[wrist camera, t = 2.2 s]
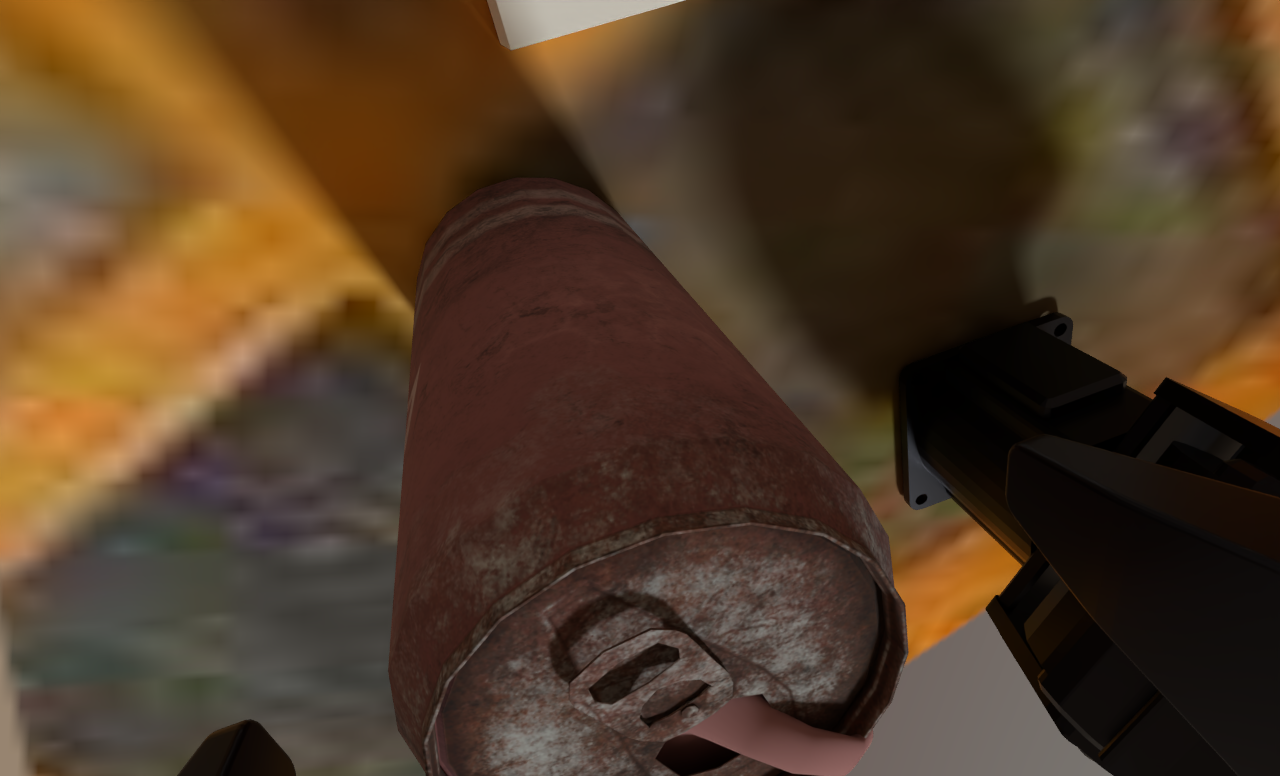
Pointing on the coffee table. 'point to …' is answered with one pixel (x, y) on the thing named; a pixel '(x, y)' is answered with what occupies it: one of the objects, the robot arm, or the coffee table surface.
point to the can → (618, 523)
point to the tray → (558, 17)
